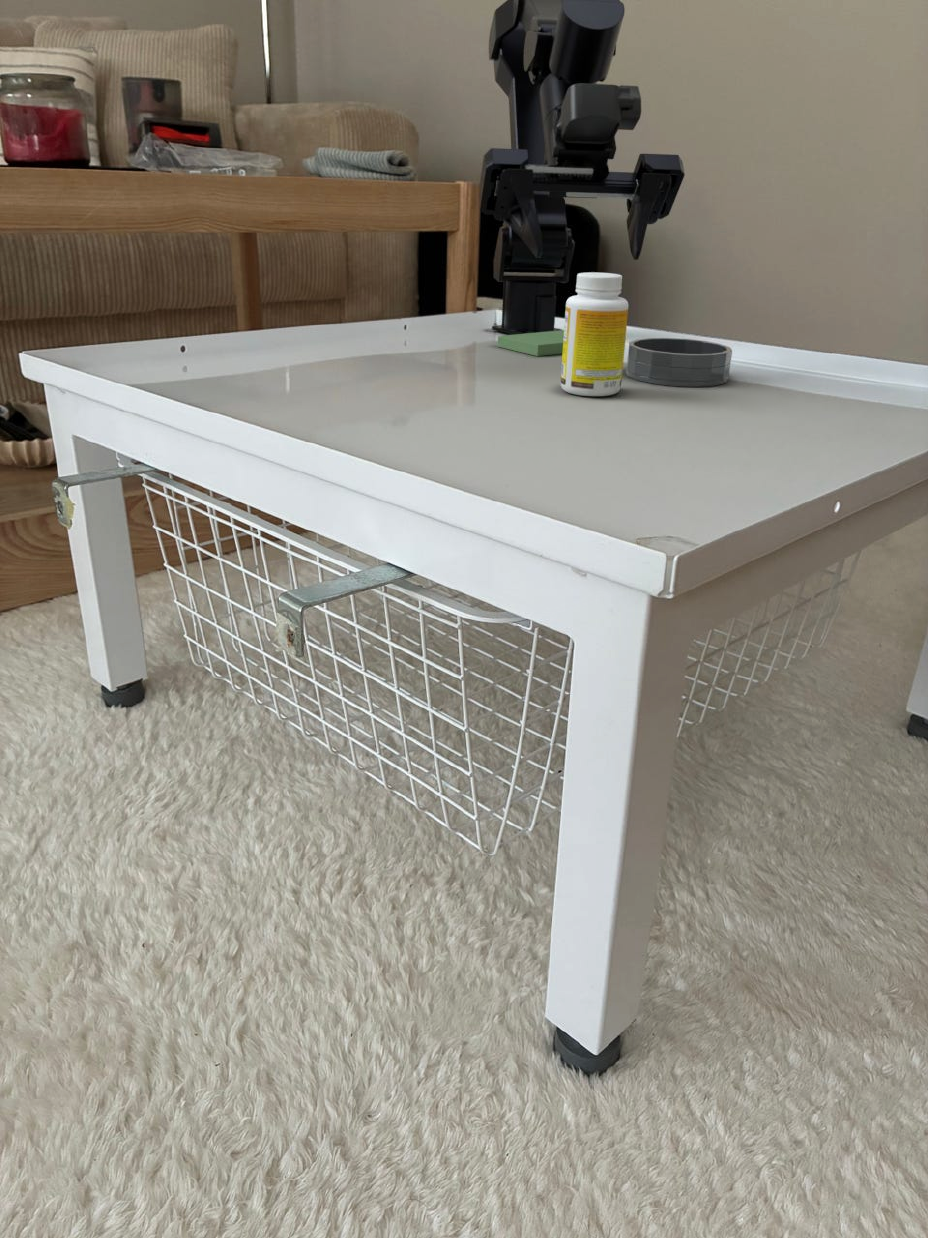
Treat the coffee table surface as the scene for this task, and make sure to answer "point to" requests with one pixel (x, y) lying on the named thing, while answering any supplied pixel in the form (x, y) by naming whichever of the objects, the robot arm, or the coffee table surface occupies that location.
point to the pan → (678, 362)
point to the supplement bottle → (594, 336)
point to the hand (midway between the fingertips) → (588, 255)
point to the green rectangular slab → (534, 343)
